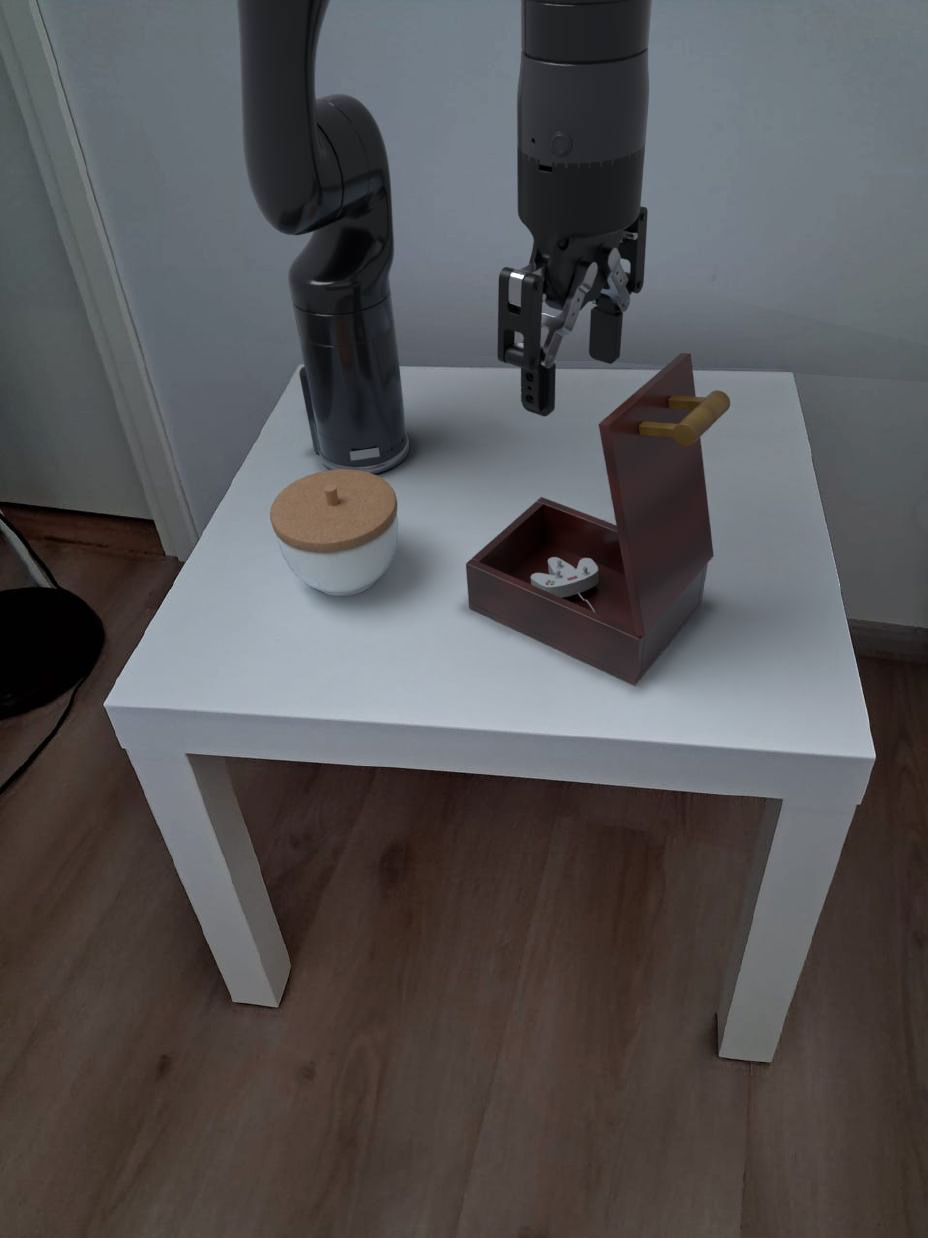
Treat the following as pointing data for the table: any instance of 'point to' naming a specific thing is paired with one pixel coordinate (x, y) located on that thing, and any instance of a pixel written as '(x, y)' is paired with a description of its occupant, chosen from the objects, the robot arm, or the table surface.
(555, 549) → the mahogany keepsake chest
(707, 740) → the table surface
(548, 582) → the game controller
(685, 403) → the cover
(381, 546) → the trinket box
